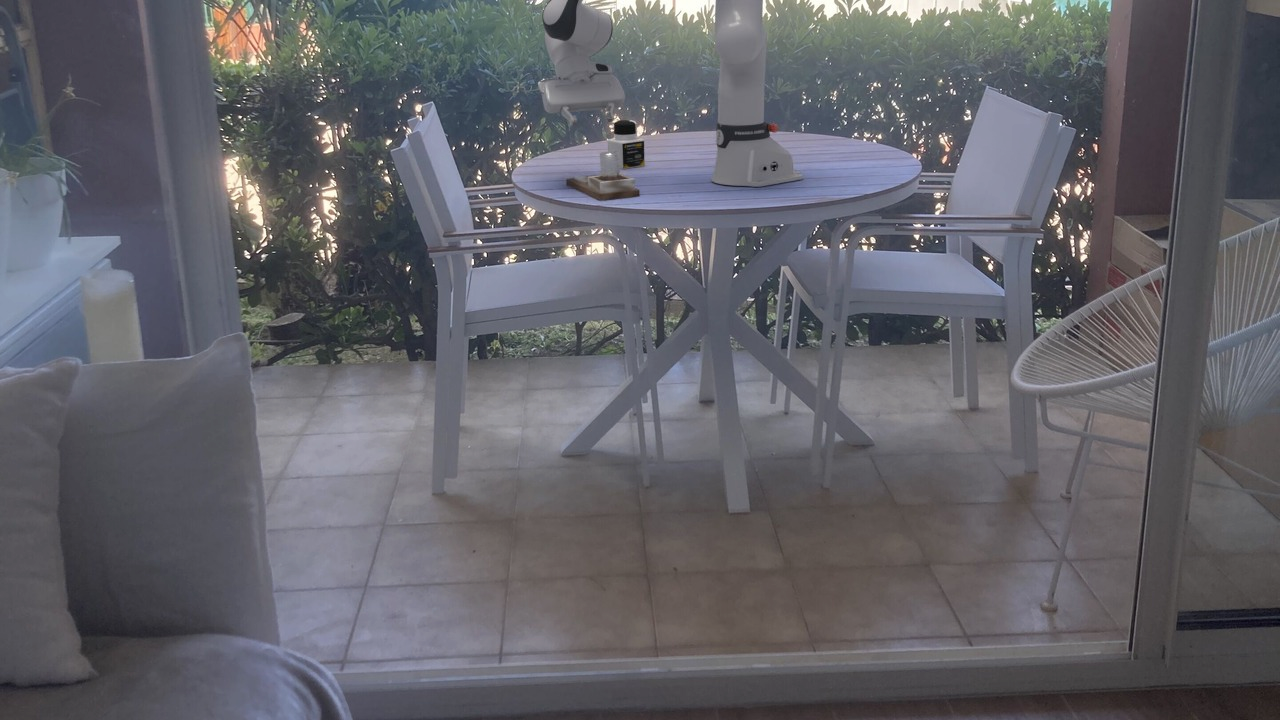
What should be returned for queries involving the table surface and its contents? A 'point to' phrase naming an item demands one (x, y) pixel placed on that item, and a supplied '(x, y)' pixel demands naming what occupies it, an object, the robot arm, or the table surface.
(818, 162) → the table surface
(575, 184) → the board
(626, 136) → the medicine bottle
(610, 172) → the aluminium barrel nut
